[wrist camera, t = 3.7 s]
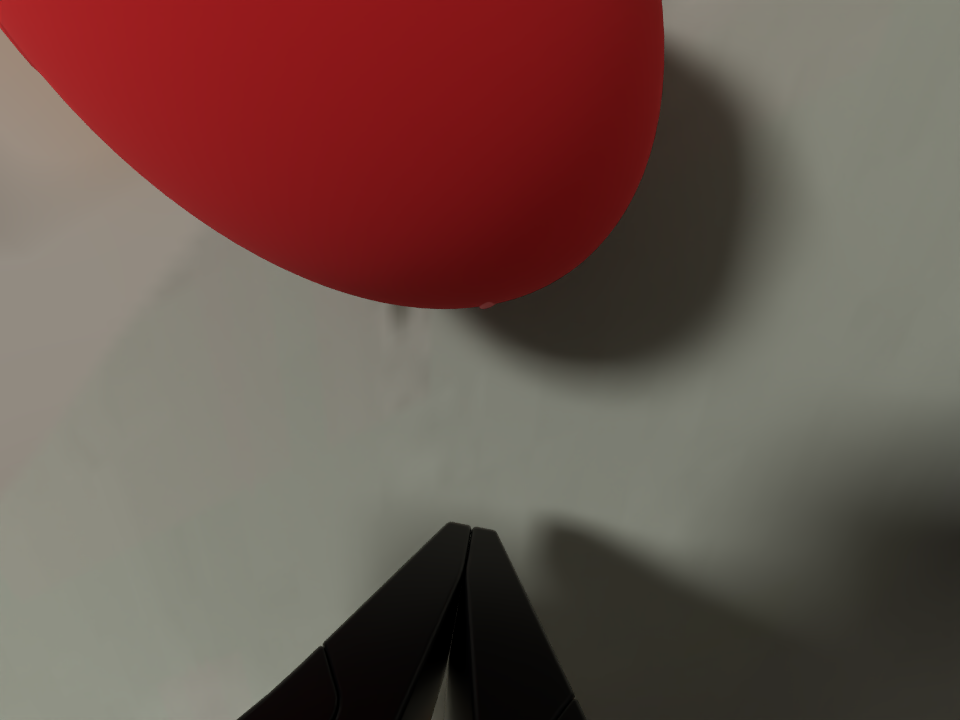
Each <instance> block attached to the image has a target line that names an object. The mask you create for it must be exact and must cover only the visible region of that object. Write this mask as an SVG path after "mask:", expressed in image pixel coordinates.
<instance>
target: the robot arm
mask: <svg viewBox="0 0 960 720" xmlns="http://www.w3.org/2000/svg"><path fill="white" fill-rule="evenodd" d="M470 535H471V537H470ZM469 541H470V542H469ZM468 547H469V548H468ZM466 558H467V559H466ZM459 597H460V598H459ZM457 608H458V609H457ZM455 619H456V620H455ZM454 624H455V626H454ZM453 630H454V631H453ZM452 635H453V637H452ZM451 641H452V643H451ZM450 646H451V648H450ZM449 652H450V654H449ZM448 656H449V661H448ZM447 661H448V669H447V680H446V695H445V712H444V720H587V719H586V717H585V715H584V713H583V711H582V709H581V707H580V705H579V702H578V701H577V700H576V699H574V697H575V695H574V693H573V690H572V688H571V686H570V684H569V682H568V680H567V678H566V676H565V674H564V672H563V670H562V668H561V665H560V663H559V661H558V659H557V657H556V655H555V653H554V651H553V649H552V647H551V645H550V643H549V640H548V638H547V636H546V634H545V632H544V630H543V628H542V626H541V624H540V622H539V620H538V617H537V615H536V613H535V611H534V609H533V607H532V605H531V603H530V601H529V599H528V597H527V595H526V592H525V590H524V588H523V586H522V584H521V582H520V580H519V578H518V576H517V574H516V572H515V569H514V567H513V565H512V563H511V561H510V559H509V557H508V555H507V553H506V551H505V549H504V547H503V544H502V542H501V540H500V538H499V536H498V534H497V532H496V531H494V530H491V529H486V528H480V527H474V528H473V529H472V531H471V527H470V526H469V525H465V524H460V523H455V522H448V523H447V524H446V525H445V526H444V527H443V528H442V529H440V530H439V531H438V532H437V533H436V534H435V535H434V536H433V537H432V538H431V539H430V540H429V541H428V542H427V543H426V544H425V545H424V546H423V547H422V548H421V549H420V550H419V551H418V552H417V553H416V554H415V555H414V556H413V557H411V558H410V559H409V560H408V561H407V562H406V563H405V564H404V565H403V566H402V567H401V568H400V569H399V570H398V571H397V572H396V573H395V574H394V575H393V576H392V577H391V578H390V579H389V580H388V581H387V582H386V583H385V584H384V585H382V586H381V587H380V588H379V589H378V590H377V591H376V592H375V593H374V594H373V595H372V596H371V597H370V598H369V599H368V600H367V601H366V602H365V603H364V604H363V605H362V606H361V607H360V608H359V609H358V610H357V611H356V612H355V613H354V614H352V615H351V616H350V617H349V618H348V619H347V620H346V621H345V622H344V623H343V624H342V625H341V626H340V627H339V628H338V629H337V630H336V631H335V632H334V633H333V634H332V635H331V636H330V637H329V638H328V639H327V640H326V641H325V642H324V643H323V647H322V646H319V647H318V648H317V649H316V650H315V651H314V652H313V653H312V654H311V655H310V656H309V657H308V658H307V659H306V660H305V661H304V662H303V663H301V664H300V665H299V666H298V667H297V668H296V669H295V670H294V671H293V672H292V673H291V674H290V675H288V676H287V677H286V678H285V679H284V680H283V681H282V682H281V683H280V684H279V685H277V686H276V687H275V688H274V689H273V690H272V691H271V692H270V693H269V694H267V695H266V696H265V697H264V698H263V699H261V700H260V701H259V702H258V703H256V704H255V705H254V706H253V707H252V708H250V709H249V710H248V711H247V712H245V713H244V714H243V715H242V716H241V717H239V718H238V719H237V720H431V717H432V714H433V711H434V707H435V704H436V701H437V698H438V694H439V691H440V688H441V684H442V681H443V677H444V673H445V670H446V666H447Z"/></svg>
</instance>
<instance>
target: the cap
mask: <svg viewBox="0 0 960 720" xmlns="http://www.w3.org/2000/svg"><path fill="white" fill-rule="evenodd" d="M0 28H1V30H2V31H3V32H4V33H5V34H6V36H7V37H8V38H9V39H10V41H11V42H12V43H13V44H14V45H15V47H16V48H17V49H18V51H19V52H20V53H21V54H22V55H23V56H24V58H25V59H26V60H27V61H28V62H29V63H30V64H31V66H33V67H34V68H35V69H36V70H37V71H38V72H39V73H40V74H41V75H42V76H43V77H44V78H45V79H46V80H47V82H48V83H49V84H50V85H51V86H52V87H53V89H54V90H55V91H56V92H57V93H58V94H59V95H60V96H61V98H62V99H63V100H64V101H65V102H66V103H67V104H68V105H69V107H71V109H72V110H73V111H74V112H75V113H76V114H77V115H78V116H79V117H80V118H81V119H82V120H83V121H84V122H85V123H86V124H87V125H88V126H89V127H90V128H91V129H92V130H93V131H94V132H95V133H96V134H97V135H98V136H99V137H100V138H101V139H102V140H103V141H104V142H105V143H106V144H107V145H108V146H109V147H110V148H111V149H112V150H113V151H114V152H115V153H117V154H118V155H119V156H120V157H121V158H122V159H123V160H124V161H126V162H127V163H128V164H129V165H130V166H131V167H132V168H133V169H135V170H136V171H137V172H138V173H139V174H140V175H141V176H143V177H144V178H145V179H147V180H148V181H149V182H150V183H151V184H153V185H154V186H155V187H156V188H157V189H159V190H160V191H161V192H162V193H164V194H165V195H166V196H167V197H169V198H170V199H172V200H173V201H174V202H176V203H177V204H178V205H180V206H181V207H182V208H184V209H185V210H186V211H188V212H189V213H190V214H192V215H193V216H195V217H196V218H198V219H199V220H200V221H202V222H203V223H205V224H206V225H208V226H209V227H211V228H212V229H214V230H215V231H217V232H218V233H220V234H222V235H223V236H225V237H227V238H228V239H230V240H231V241H233V242H235V243H236V244H238V245H240V246H241V247H243V248H245V249H247V250H249V251H250V252H252V253H254V254H256V255H257V256H259V257H261V258H263V259H265V260H267V261H269V262H271V263H273V264H275V265H277V266H279V267H281V268H283V269H285V270H288V271H290V272H292V273H294V274H296V275H299V276H301V277H303V278H306V279H308V280H311V281H313V282H316V283H318V284H321V285H323V286H326V287H329V288H332V289H335V290H338V291H341V292H344V293H347V294H351V295H354V296H358V297H361V298H365V299H370V300H374V301H378V302H383V303H388V304H394V305H400V306H407V307H416V308H430V309H459V308H472V307H479V306H480V309H487V308H490V307H492V306H493V305H495V304H497V303H501V302H505V301H509V300H512V299H516V298H519V297H522V296H524V295H527V294H530V293H532V292H534V291H537V290H539V289H541V288H543V287H545V286H547V285H549V284H551V283H553V282H554V281H556V280H558V279H560V278H561V277H563V276H564V275H566V274H567V273H569V272H570V271H572V270H573V269H574V268H575V267H577V266H578V265H579V264H581V263H582V262H583V261H584V260H585V259H586V258H587V257H589V256H590V255H591V254H592V253H593V252H594V251H595V250H596V249H597V248H598V247H599V246H600V244H601V243H602V242H603V241H604V240H605V239H606V238H607V236H608V235H609V234H610V233H611V231H612V230H613V229H614V227H615V226H616V225H617V223H618V222H619V220H620V219H621V217H622V215H623V214H624V212H625V211H626V209H627V207H628V206H629V204H630V202H631V200H632V198H633V196H634V194H635V192H636V190H637V188H638V185H639V183H640V181H641V179H642V176H643V174H644V171H645V168H646V165H647V162H648V159H649V156H650V153H651V149H652V146H653V142H654V138H655V134H656V129H657V124H658V119H659V114H660V106H661V98H662V90H663V75H664V26H663V10H662V0H0Z"/></svg>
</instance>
